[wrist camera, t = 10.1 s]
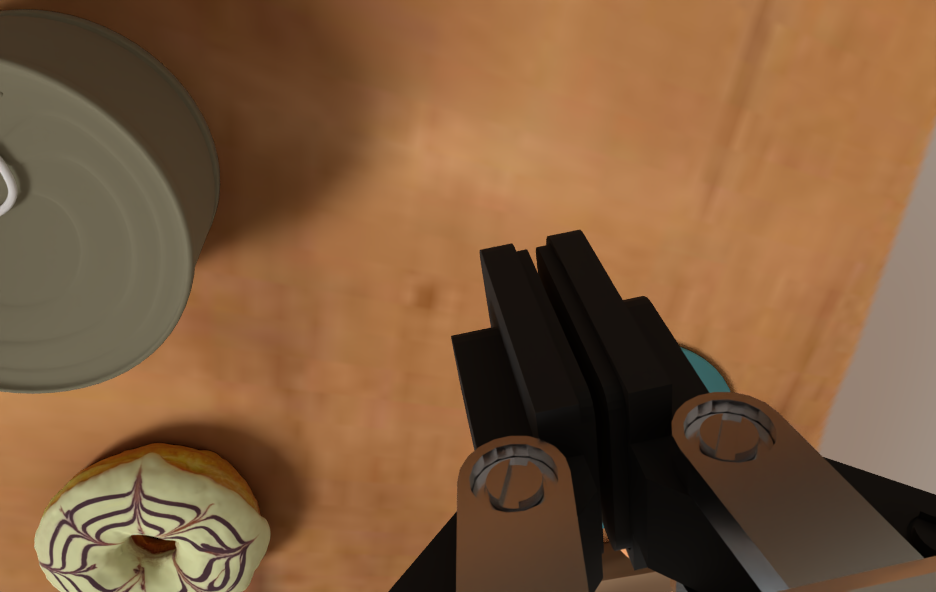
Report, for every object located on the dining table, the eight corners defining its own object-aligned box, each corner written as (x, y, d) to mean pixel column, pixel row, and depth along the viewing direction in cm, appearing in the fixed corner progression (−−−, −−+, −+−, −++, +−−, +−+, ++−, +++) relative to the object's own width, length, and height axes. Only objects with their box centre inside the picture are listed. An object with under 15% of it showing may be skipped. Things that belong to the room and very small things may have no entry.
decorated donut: (310, 499, 40) (306, 555, 37) (186, 601, 44) (172, 662, 40) (141, 397, 36) (120, 452, 33) (15, 520, 39) (-16, 581, 36)
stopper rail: (499, 560, 44) (505, 597, 42) (731, 522, 45) (749, 555, 43) (501, 582, 45) (508, 619, 43) (728, 544, 46) (746, 578, 44)
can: (0, 323, 33) (-79, 428, 27) (-181, 47, 26) (-337, 106, 21) (268, 258, 33) (246, 350, 27) (149, -35, 26) (87, 2, 20)
